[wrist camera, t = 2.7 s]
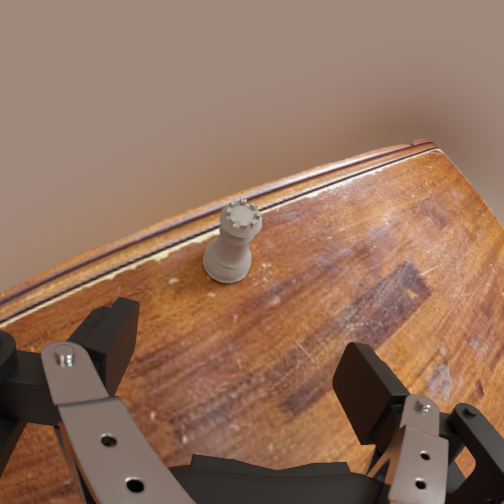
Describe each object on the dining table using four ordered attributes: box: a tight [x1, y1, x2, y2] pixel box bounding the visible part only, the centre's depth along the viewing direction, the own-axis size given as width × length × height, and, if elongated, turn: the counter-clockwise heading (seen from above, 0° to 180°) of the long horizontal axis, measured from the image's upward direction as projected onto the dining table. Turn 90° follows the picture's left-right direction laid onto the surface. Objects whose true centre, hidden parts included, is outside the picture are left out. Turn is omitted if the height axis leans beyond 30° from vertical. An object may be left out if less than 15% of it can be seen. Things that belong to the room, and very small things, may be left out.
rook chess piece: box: [203, 199, 262, 283], centre depth 26 cm, size 4×4×8 cm
